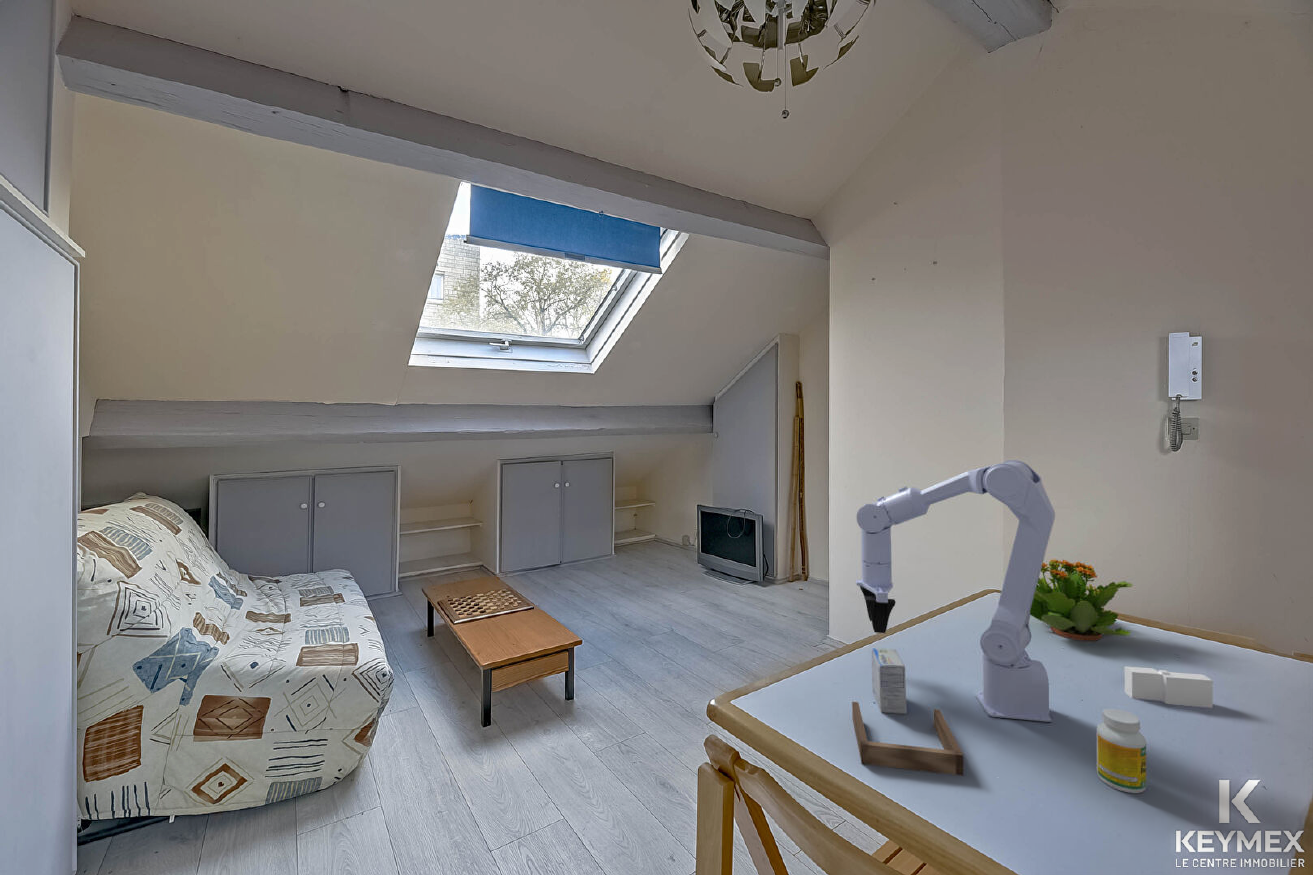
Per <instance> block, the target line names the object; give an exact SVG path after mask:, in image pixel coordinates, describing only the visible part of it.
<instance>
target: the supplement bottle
mask: <svg viewBox="0 0 1313 875" xmlns="http://www.w3.org/2000/svg"><path fill="white" fill-rule="evenodd" d="M1140 729H1141V721H1140V718H1139V717H1138V716H1137V715H1135V714H1133V713H1131V712H1128V711H1126V710H1122V709H1118V708H1106V709H1103V710H1102V722H1101V723H1099V724H1098V725H1097V727H1096V774H1097V776H1098V778H1099V779H1100V780H1101V781H1102V782H1103V783H1105V784H1106V785H1107V786H1109V787H1111V788H1112V789H1115V790H1118V791H1121V792H1124V793H1129V794H1141V793H1143V792H1145V791H1146V789H1147V741H1146V737H1145V736H1144V734H1143V733H1141V731H1140Z"/></svg>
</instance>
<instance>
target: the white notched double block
mask: <svg viewBox="0 0 1313 875" xmlns="http://www.w3.org/2000/svg"><path fill="white" fill-rule="evenodd" d="M1213 682H1214V681H1213V679H1211V678H1209V677H1208V676H1206V675H1204V674H1199V673H1185V672H1172V671H1168V670H1164V669H1163V670H1162V669H1158V670H1157V669H1156V668H1149V667H1138V666H1137V667H1136V666H1124V693H1125V694H1126V695H1127V696H1129V697H1130V698H1131V699H1135V700H1136V699H1138V700H1147V701H1149V700H1150V701H1159V702H1160V701H1161V702H1163V703H1164V704H1165V705H1176V706H1177V705H1178V706H1186V707H1187V706H1188V707H1198V708H1210V709H1213V704H1214V702H1213V698H1214V694H1213V692H1214V689H1213V688H1214V687H1213V685H1214V683H1213Z"/></svg>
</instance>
